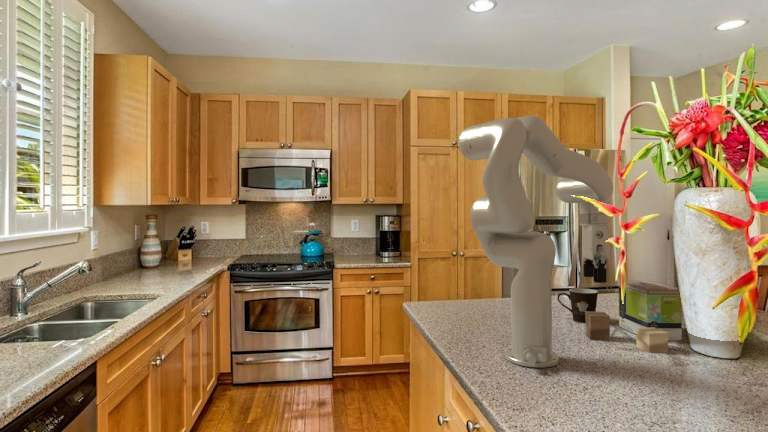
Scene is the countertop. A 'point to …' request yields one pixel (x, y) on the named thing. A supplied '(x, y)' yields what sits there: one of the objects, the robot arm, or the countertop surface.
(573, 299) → the coffee mug
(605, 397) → the countertop surface
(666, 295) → the tea box
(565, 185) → the robot arm
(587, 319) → the walnut block
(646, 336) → the beech block
